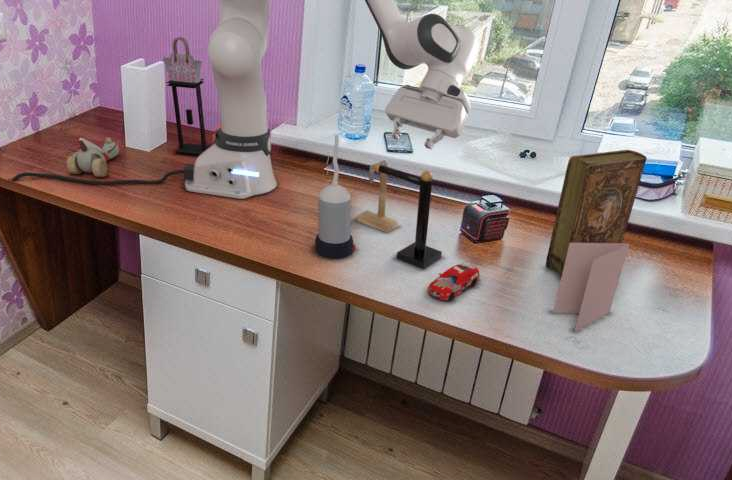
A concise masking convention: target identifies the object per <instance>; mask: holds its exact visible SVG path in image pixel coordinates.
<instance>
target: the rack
mask: <svg viewBox="0 0 732 480" xmlns="http://www.w3.org/2000/svg"><path fill="white" fill-rule="evenodd" d="M374 164H375V165H374ZM374 164H373V165H374V173H378V174H380V173H383V174H386V175H387V176H390V177H393V178H395V179H399V180H401V181H405V182H407V183H411V184H414V185H417V186H419V191H418V203H417V213H416V214H417V215H416V224H415V225H416V227H415V237H414V242H412V243H411V244H409V245H407V246H406V247H403V248H402V249H400V250H399V251H397V252H396V260H399V261H402V262H404V263H407V264H410V265H412V266H414V267H417V268H419V269H422V270H425V269H426V268H428V267H429V266H431V265H432V264H434V263H436V262H437V261H439V260H441V258H442V256H443V255H442V254H443V252H442V250H439V249H436V248H433V247H430V246H428V245H427V240H428V239H427V238H428V229H429V217H430V207H431V198H432V190H433V174H432V172H431V171H428V170H425V171H423V172H422V173H421V176H419V175H415V174H412V173H408V172H405V171H402V170H398V169H397V168H393V167H390V166H388V167H387V166H384V165H382V164H381V163H379V162H376V163H374Z"/></svg>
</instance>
